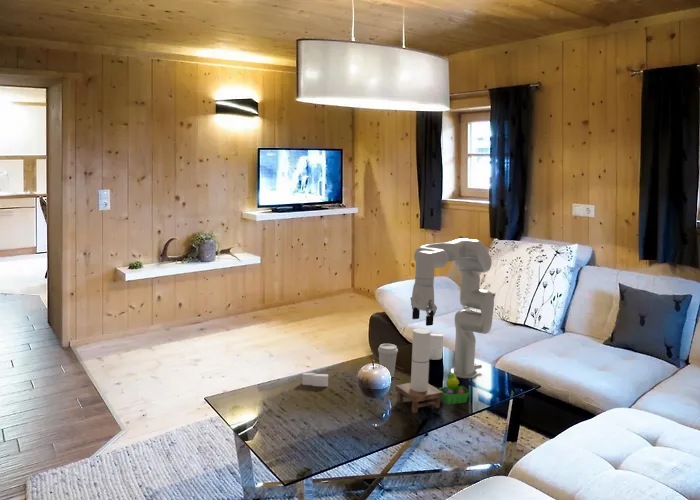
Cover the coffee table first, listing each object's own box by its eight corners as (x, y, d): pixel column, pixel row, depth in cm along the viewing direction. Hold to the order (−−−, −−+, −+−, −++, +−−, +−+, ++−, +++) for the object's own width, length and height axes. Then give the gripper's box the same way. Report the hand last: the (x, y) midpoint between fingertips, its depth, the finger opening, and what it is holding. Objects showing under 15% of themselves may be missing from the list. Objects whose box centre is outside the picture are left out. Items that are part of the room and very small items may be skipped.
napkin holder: (335, 386, 259) (335, 374, 258) (318, 393, 250) (318, 381, 249) (310, 377, 268) (311, 365, 267) (293, 384, 259) (294, 372, 258)
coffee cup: (397, 373, 274) (398, 343, 272) (396, 381, 265) (398, 350, 262) (377, 372, 275) (378, 342, 273) (376, 379, 266) (377, 348, 263)
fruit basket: (445, 406, 239) (447, 380, 237) (436, 397, 248) (438, 372, 246) (470, 403, 242) (471, 378, 240) (460, 395, 251) (462, 371, 249)
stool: (422, 395, 249) (423, 380, 248) (441, 408, 237) (442, 392, 236) (395, 400, 243) (395, 385, 242) (413, 414, 231) (414, 397, 230)
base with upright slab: (424, 358, 296) (425, 336, 294) (425, 353, 304) (426, 331, 302) (442, 360, 294) (443, 338, 292) (442, 354, 303) (443, 332, 301)
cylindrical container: (412, 391, 235) (415, 333, 231) (409, 385, 242) (411, 328, 238) (429, 391, 236) (432, 333, 232) (425, 385, 243) (428, 328, 239)
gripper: (404, 277, 238) (403, 317, 240) (429, 286, 223) (427, 328, 225) (419, 276, 241) (418, 315, 244) (444, 285, 226) (442, 326, 229)
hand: (422, 322), depth 235 cm, fingers open, 9 cm apart
